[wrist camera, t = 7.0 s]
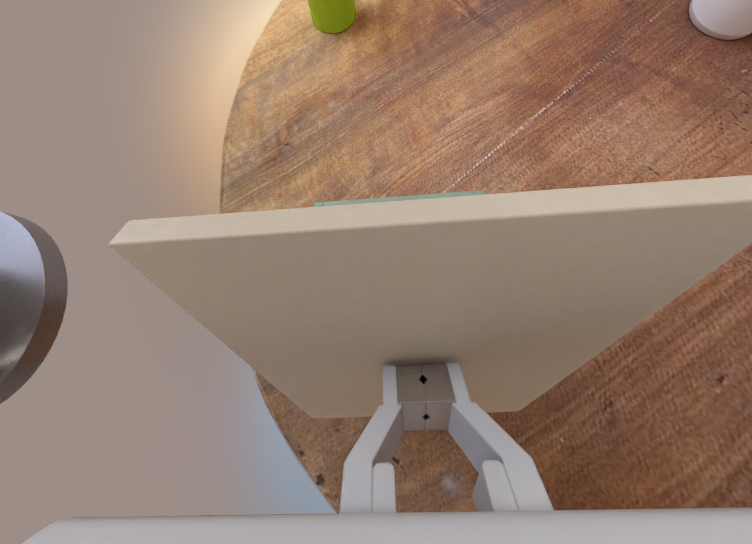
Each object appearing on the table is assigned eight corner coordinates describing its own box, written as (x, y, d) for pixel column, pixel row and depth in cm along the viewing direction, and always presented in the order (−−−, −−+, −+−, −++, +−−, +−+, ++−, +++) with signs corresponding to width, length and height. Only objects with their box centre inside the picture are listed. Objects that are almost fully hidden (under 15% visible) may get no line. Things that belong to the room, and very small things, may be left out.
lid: (127, 219, 6) (105, 244, 6) (777, 171, 5) (819, 195, 5) (313, 406, 19) (311, 418, 18) (514, 398, 18) (519, 411, 17)
